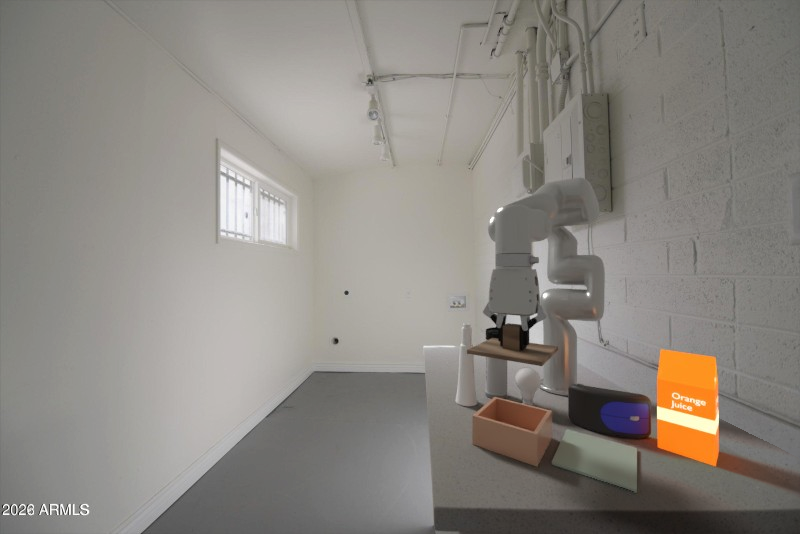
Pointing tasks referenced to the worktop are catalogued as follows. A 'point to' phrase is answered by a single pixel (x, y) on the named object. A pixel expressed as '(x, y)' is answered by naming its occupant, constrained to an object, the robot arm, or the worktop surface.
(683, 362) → the orange juice
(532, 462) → the salmon open box
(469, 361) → the cosmetic bottle
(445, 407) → the worktop surface
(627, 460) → the mat
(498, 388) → the travel mug
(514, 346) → the lid
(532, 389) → the lightbulb
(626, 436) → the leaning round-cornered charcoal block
